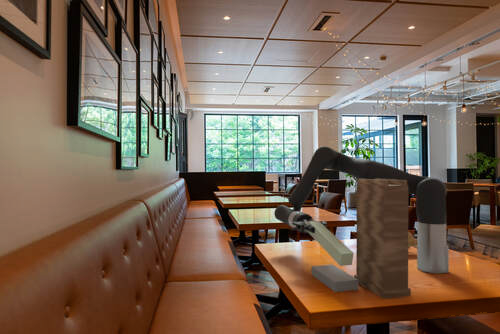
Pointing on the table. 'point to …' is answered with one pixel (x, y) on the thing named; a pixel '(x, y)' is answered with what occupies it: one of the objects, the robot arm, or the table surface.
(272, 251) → the table surface
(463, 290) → the table surface
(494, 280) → the table surface
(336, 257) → the pale green bar
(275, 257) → the table surface
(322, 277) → the base block
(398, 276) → the pedestal
